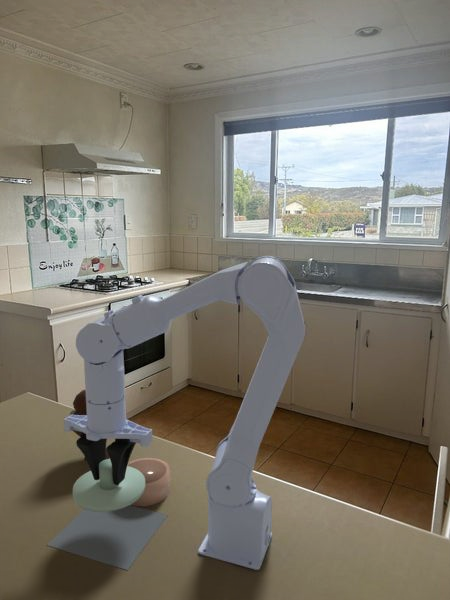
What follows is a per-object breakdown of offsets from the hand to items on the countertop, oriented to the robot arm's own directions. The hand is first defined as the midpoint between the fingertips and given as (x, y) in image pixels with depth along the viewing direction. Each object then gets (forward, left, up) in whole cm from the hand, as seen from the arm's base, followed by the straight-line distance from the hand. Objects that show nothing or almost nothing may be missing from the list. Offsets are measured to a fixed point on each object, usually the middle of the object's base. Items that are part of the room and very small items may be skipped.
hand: (109, 479), depth 70 cm
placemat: (0, 0, -9) cm, 9 cm away
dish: (0, -11, -9) cm, 14 cm away
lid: (0, 0, -2) cm, 2 cm away
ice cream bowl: (+15, -18, -9) cm, 25 cm away
